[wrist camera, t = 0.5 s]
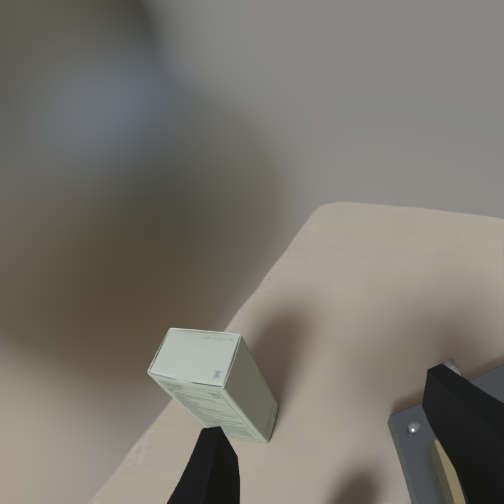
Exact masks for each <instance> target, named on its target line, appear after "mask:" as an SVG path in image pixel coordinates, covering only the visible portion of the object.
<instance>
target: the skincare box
mask: <svg viewBox="0 0 504 504" xmlns="http://www.w3.org/2000/svg"><path fill="white" fill-rule="evenodd" d="M148 374H149V375H150V376H151V377H152V378H153V379H154V380H155V381H156V382H157V383H158V384H159V385H160V386H162V388H163V389H164V390H166V392H167V393H168V394H170V395H171V396H172V397H173V398H174V399H175V400H176V401H177V402H178V403H179V404H180V405H181V406H182V407H183V408H185V409H186V410H187V411H188V412H189V413H190V414H191V415H192V416H193V417H195V418H196V419H197V420H198V421H199V422H200V423H202V424H203V425H204V426H205V427H206V428H209V427H217V426H221V428H222V430H223V432H224V433H225V435H226V436H230V437H235V438H240V439H245V440H250V441H256V442H263V443H268V442H269V439H270V436H271V433H272V429H273V426H274V422H275V418H276V414H277V410H278V403H277V401H276V399H275V397H274V396H273V394H272V392H271V390H270V388H269V386H268V385H267V383H266V381H265V379H264V377H263V375H262V373H261V372H260V370H259V368H258V366H257V364H256V362H255V360H254V358H253V356H252V355H251V353H250V351H249V349H248V347H247V345H246V343H245V341H244V339H243V337H242V336H241V334H235V333H227V332H214V331H202V330H191V329H179V328H170V329H169V331H168V333H167V335H166V336H165V338H164V340H163V342H162V344H161V346H160V348H159V350H158V352H157V353H156V356H155V358H154V359H153V362H152V363H151V365H150V368H149V369H148Z"/></svg>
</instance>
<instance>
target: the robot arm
mask: <svg viewBox="0 0 504 504" xmlns="http://www.w3.org/2000/svg"><path fill="white" fill-rule="evenodd" d="M422 408H423V410H424V412H425V415H426V417H427V420H428V422H429V424H430V427H431V429H432V431H433V432H434V434H435V436H436V437H437V439H438V441H439V443H440V444H441V446H442V448H443V450H444V451H445V453H446V455H447V456H448V458H449V460H450V462H451V463H452V465H453V467H454V469H455V470H456V472H457V475H458V477H459V479H460V481H461V484H462V486H463V489H464V491H465V494H466V497H467V500H468V503H469V504H504V403H503V402H501V401H499V400H498V399H496V398H494V397H492V396H491V395H489V394H488V393H486V392H484V391H483V390H481V389H480V388H478V387H477V386H475V385H473V384H472V383H470V382H469V381H468V380H466V379H465V378H463V377H462V376H460V375H459V374H457V373H456V372H454V371H453V370H451V369H450V368H448V367H447V366H445V365H444V364H440V365H437V366H435V367H433V368H430V369H428V371H427V378H426V385H425V391H424V397H423V403H422ZM167 504H240V475H239V466H238V457H237V455H236V453H235V451H234V450H233V448H232V446H231V444H230V442H229V441H228V439H227V437H226V435H225V433H224V432H223V430H222V428H221V426H217V427H209V428H203V429H202V430H201V432H200V435H199V438H198V440H197V443H196V445H195V448H194V450H193V453H192V455H191V457H190V459H189V462H188V464H187V466H186V468H185V470H184V472H183V474H182V476H181V479H180V481H179V483H178V484H177V486H176V488H175V490H174V492H173V493H172V495H171V497H170V499H169V500H168V502H167Z"/></svg>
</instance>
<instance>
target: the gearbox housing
mask: <svg viewBox="0 0 504 504" xmlns="http://www.w3.org/2000/svg"><path fill="white" fill-rule="evenodd" d="M442 364H444V365H445V366H447V367H448V368H450V369H451V370H453V371H454V372H456V373H457V374H459V375H460V376H462V375H461V373H460V371H459V369H458V367H457V365H456V363H455V361H454V360H453V359H450V360H447V361H445V362H444V363H442ZM470 383H472V384H473V385H475V386H477V387H478V388H480V389H481V390H483V391H484V392H486V393H488V394H489V395H491V396H492V397H494V398H496V399H498V400H499V401H501V402H503V403H504V364H502V365H500V366H499V367H497V368H495V369H493V370H491V371H490V372H488V373H486V374H484V375H482V376H480V377H478V378H476V379H474V380H472V381H470ZM388 425H389V429H390V432H391V435H392V438H393V441H394V444H395V447H396V450H397V454H398V457H399V460H400V463H401V467H402V470H403V474H404V477H405V480H406V484H407V487H408V491H409V495H410V498H411V502H412V504H469V503H468V500H467V497H466V494H465V491H464V489H463V486H462V484H461V481H460V479H459V477H458V475H457V472H456V470H455V469H454V467H453V465H452V463H451V462H450V460H449V458H448V456H447V455H446V453H445V451H444V450H443V448H442V446H441V444H440V443H439V441H438V439H437V437H436V436H435V434H434V432H433V431H432V429H431V427H430V424H429V422H428V420H427V417H426V415H425V412H424V410H423V408H422V404H419V405H417V406H414V407H411V408H409V409H406V410H404V411H401V412H398V413H395V414H393V415H390V418H389V421H388Z"/></svg>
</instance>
